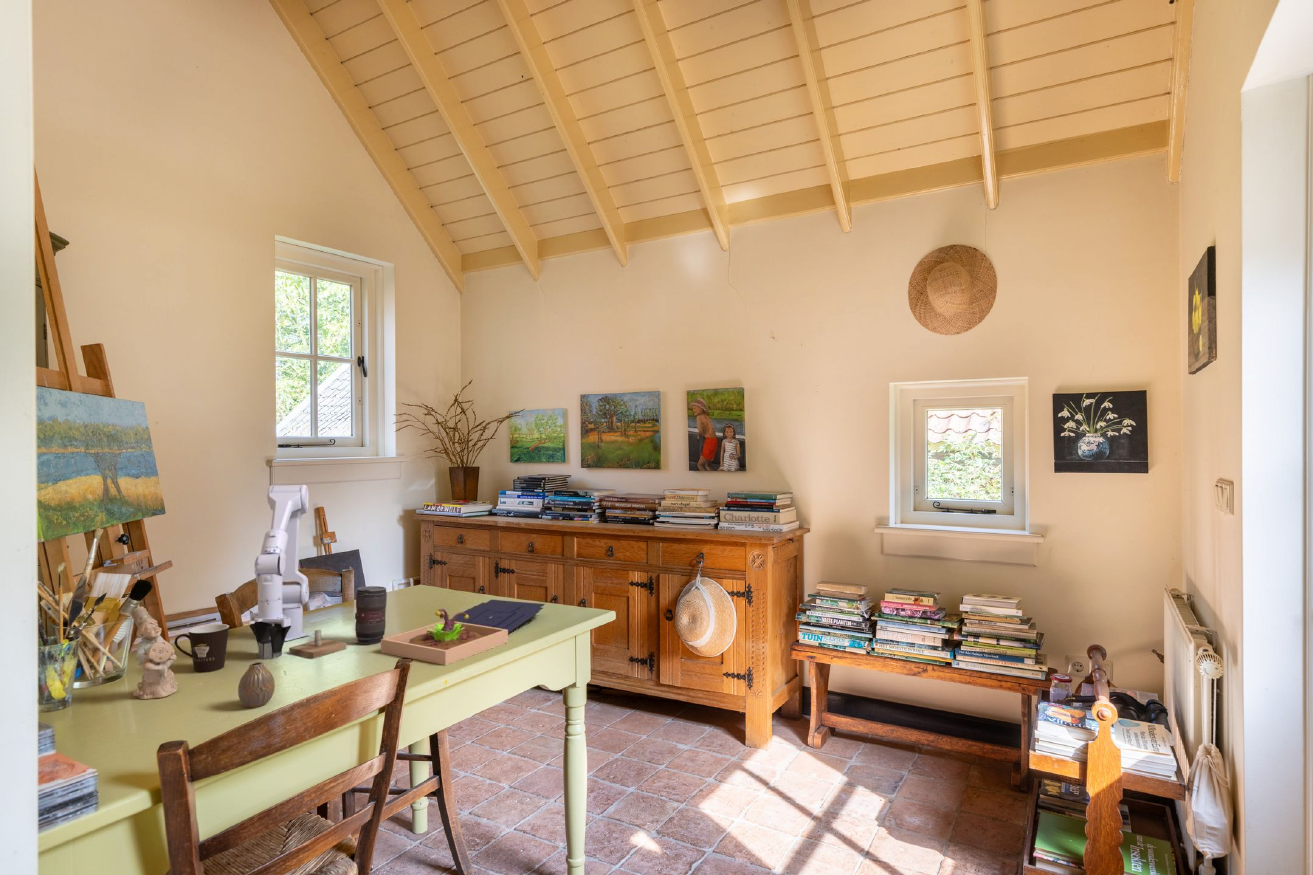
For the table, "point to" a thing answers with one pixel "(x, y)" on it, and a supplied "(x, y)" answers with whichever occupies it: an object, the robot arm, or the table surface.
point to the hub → (267, 650)
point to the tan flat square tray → (403, 648)
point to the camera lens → (370, 614)
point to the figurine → (153, 658)
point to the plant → (446, 634)
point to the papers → (500, 614)
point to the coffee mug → (207, 647)
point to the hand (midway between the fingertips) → (270, 650)
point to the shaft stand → (317, 647)
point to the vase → (256, 686)
